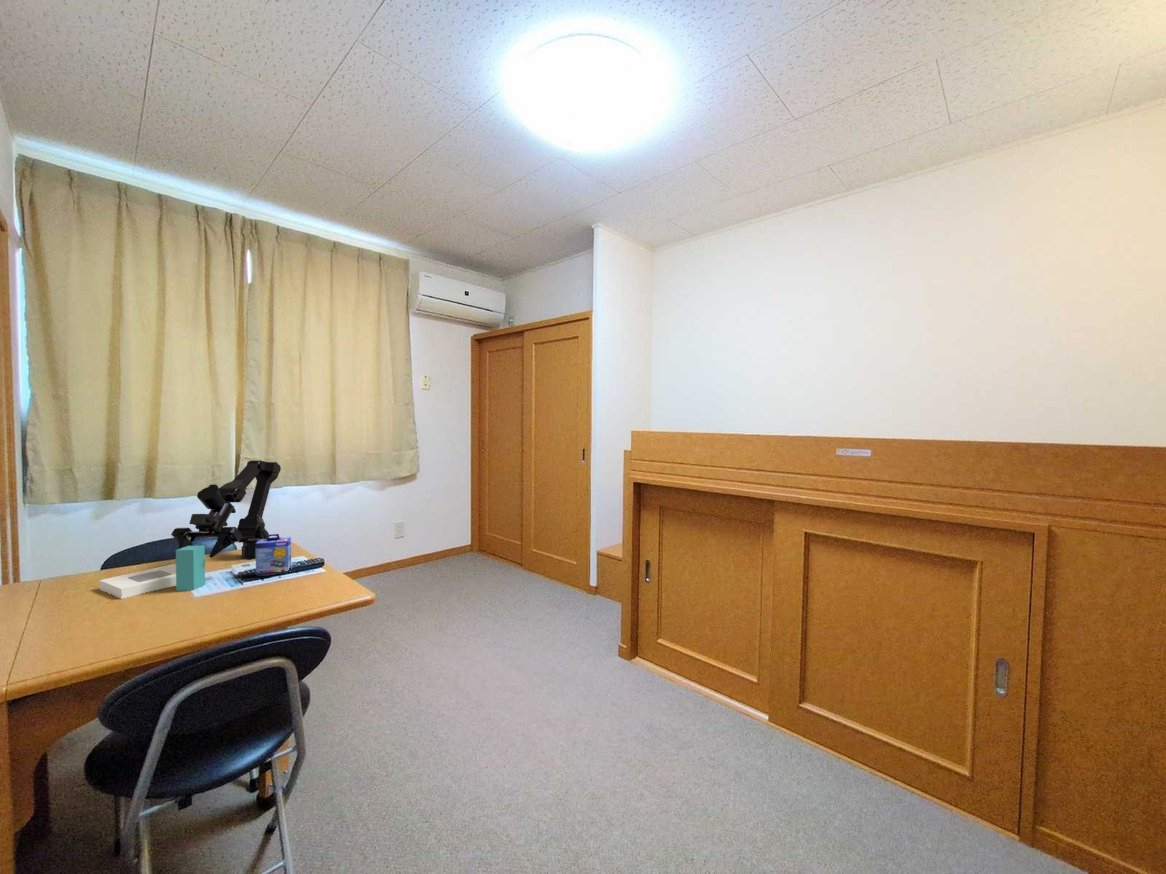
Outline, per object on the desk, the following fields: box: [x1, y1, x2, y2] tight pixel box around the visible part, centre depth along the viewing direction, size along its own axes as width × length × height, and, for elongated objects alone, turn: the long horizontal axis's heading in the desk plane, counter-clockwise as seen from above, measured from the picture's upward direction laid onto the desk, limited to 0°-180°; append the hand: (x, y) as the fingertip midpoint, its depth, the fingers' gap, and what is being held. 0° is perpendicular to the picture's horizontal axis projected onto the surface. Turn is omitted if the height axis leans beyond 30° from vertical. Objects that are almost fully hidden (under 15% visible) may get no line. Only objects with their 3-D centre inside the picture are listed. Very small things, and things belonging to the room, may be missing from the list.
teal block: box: [175, 545, 206, 592], centre depth 142 cm, size 5×5×13 cm
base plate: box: [98, 563, 176, 600], centre depth 146 cm, size 20×16×3 cm
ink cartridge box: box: [255, 533, 292, 573], centre depth 156 cm, size 10×6×14 cm, turn 115°
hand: (194, 557), depth 144 cm, fingers open, 9 cm apart
